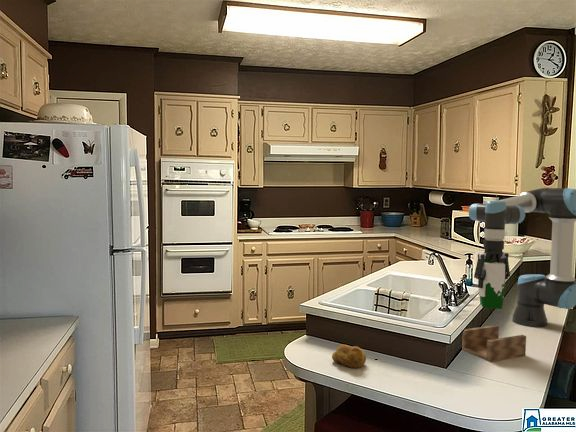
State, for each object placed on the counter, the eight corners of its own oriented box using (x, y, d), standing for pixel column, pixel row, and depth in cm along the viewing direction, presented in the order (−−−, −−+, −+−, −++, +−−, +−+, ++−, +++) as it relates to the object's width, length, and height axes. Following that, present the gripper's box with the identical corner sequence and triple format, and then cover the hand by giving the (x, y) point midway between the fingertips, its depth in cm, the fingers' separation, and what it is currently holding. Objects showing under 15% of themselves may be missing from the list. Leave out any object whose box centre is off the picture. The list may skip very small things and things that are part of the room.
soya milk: (477, 302, 205) (479, 254, 204) (500, 304, 203) (503, 255, 202) (480, 308, 197) (483, 258, 195) (505, 309, 195) (507, 259, 193)
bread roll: (327, 363, 184) (327, 342, 184) (340, 356, 192) (341, 336, 191) (357, 372, 177) (358, 350, 176) (370, 364, 184) (371, 343, 184)
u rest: (494, 343, 209) (495, 324, 208) (525, 355, 194) (526, 336, 194) (460, 348, 202) (461, 329, 201) (489, 361, 187) (490, 341, 187)
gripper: (507, 237, 205) (504, 291, 207) (465, 239, 198) (463, 294, 199) (522, 239, 198) (519, 295, 200) (479, 241, 191) (476, 299, 192)
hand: (491, 295), depth 200 cm, fingers closed on soya milk, 9 cm apart
